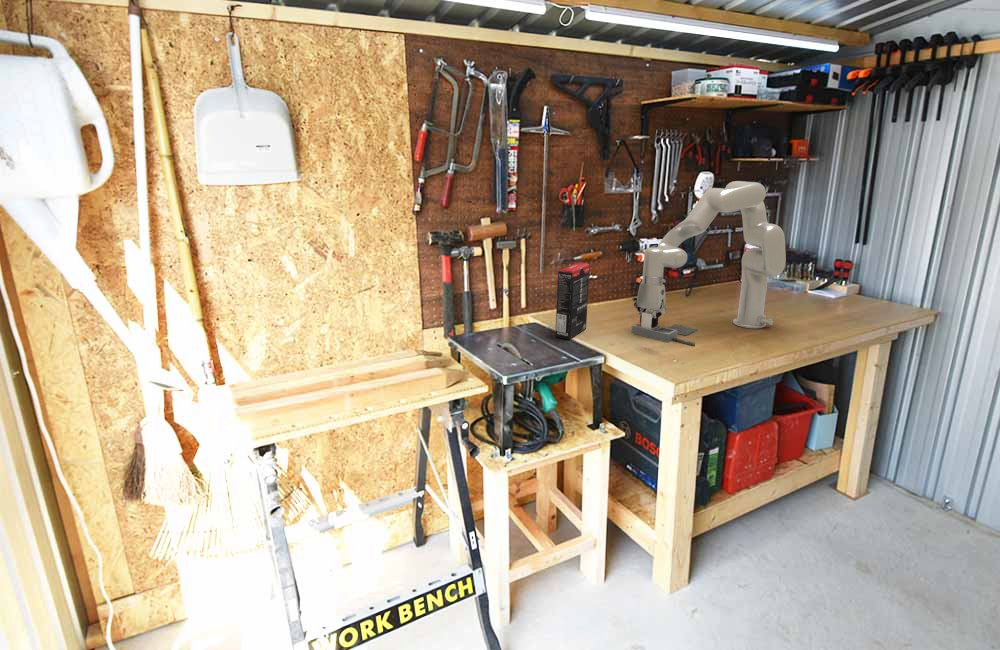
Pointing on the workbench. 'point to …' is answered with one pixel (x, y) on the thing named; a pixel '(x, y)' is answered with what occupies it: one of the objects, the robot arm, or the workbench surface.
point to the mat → (683, 329)
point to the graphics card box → (572, 300)
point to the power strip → (659, 334)
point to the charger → (647, 320)
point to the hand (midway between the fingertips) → (648, 325)
